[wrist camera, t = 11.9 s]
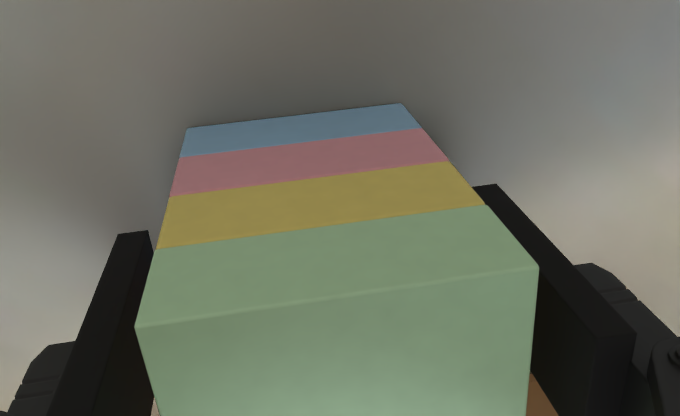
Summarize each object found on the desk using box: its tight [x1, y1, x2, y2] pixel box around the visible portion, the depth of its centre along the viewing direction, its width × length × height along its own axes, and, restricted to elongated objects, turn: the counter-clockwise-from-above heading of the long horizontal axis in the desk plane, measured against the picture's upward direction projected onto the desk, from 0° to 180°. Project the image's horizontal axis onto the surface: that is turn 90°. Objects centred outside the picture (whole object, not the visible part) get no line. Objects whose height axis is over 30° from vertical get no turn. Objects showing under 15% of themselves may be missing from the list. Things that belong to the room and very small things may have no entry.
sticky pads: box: [134, 103, 539, 416], centre depth 14 cm, size 6×7×9 cm
